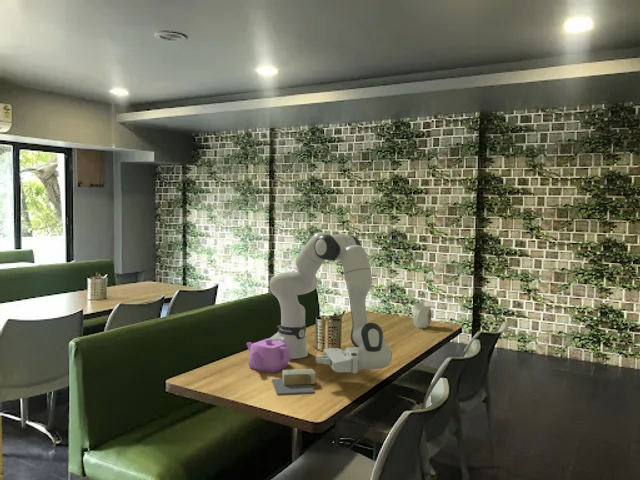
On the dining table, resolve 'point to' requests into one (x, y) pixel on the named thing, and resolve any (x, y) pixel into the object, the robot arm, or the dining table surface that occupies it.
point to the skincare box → (298, 376)
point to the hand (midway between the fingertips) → (316, 360)
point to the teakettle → (268, 355)
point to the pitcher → (421, 314)
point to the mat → (291, 388)
